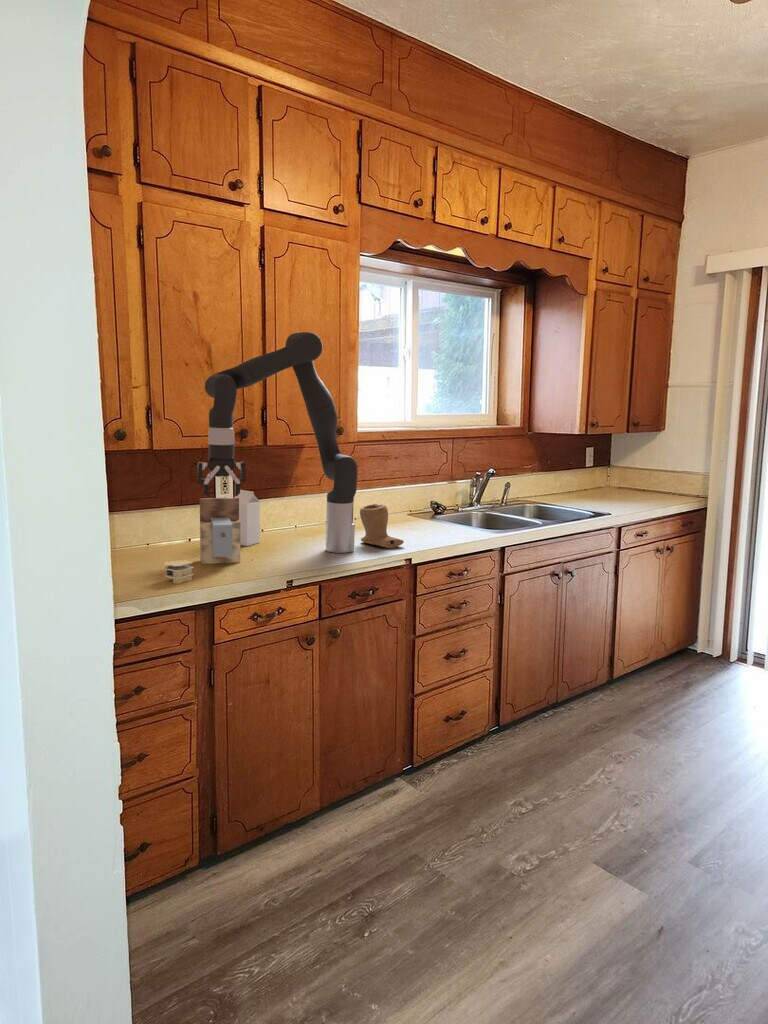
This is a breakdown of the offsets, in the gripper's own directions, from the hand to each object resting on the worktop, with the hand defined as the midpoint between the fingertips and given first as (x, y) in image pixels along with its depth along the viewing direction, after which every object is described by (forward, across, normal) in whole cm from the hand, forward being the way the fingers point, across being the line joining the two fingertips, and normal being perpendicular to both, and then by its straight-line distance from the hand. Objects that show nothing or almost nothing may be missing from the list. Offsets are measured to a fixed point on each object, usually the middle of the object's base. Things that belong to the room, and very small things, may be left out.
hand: (221, 496), depth 206 cm
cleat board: (+22, 0, -6) cm, 23 cm away
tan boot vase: (+23, -57, -20) cm, 64 cm away
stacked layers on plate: (+23, +14, +12) cm, 29 cm away
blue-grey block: (+18, 0, -3) cm, 18 cm away
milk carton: (+22, -11, -30) cm, 39 cm away
